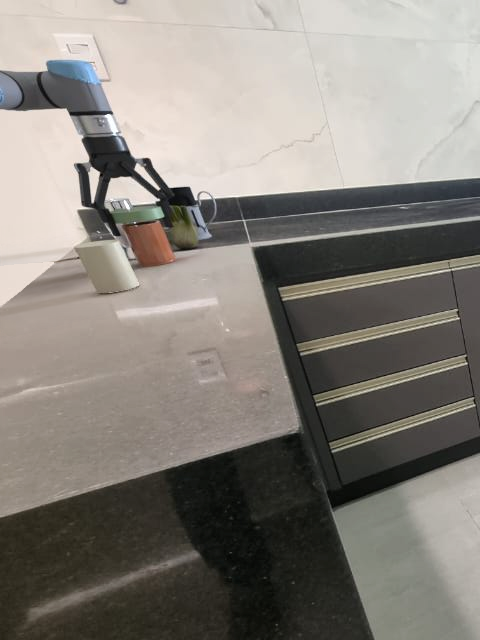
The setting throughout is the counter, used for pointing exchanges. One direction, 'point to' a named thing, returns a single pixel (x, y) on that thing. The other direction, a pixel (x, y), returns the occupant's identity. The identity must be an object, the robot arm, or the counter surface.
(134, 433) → the counter surface
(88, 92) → the robot arm
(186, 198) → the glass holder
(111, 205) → the beer glass
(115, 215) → the lid
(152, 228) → the cup
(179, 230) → the fennel bulb
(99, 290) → the can
